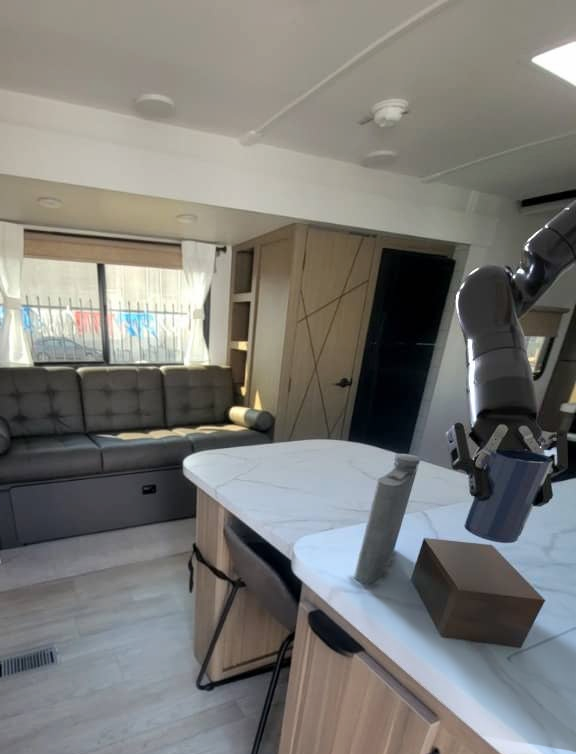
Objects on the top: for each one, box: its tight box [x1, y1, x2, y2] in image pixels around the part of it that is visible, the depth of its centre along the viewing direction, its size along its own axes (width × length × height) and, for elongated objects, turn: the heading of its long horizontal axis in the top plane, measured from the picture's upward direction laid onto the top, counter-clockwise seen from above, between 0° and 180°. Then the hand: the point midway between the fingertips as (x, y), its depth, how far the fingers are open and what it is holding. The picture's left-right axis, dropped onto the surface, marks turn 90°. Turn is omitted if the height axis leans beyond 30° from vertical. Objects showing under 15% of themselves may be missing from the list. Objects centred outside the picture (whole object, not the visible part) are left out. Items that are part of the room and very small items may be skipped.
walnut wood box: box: [410, 537, 546, 649], centre depth 60 cm, size 10×14×8 cm
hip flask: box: [353, 453, 421, 585], centre depth 68 cm, size 16×4×20 cm, turn 143°
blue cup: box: [463, 448, 553, 544], centre depth 53 cm, size 6×6×11 cm
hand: (511, 501), depth 52 cm, fingers closed on blue cup, 6 cm apart
